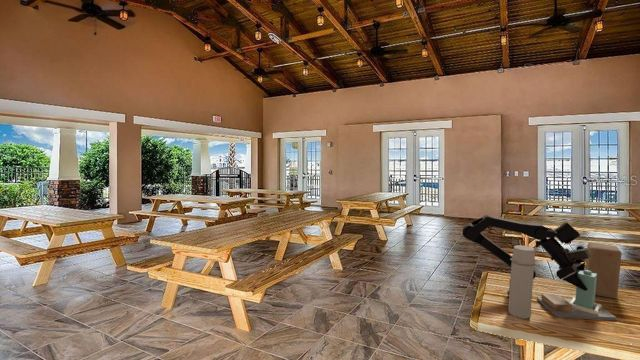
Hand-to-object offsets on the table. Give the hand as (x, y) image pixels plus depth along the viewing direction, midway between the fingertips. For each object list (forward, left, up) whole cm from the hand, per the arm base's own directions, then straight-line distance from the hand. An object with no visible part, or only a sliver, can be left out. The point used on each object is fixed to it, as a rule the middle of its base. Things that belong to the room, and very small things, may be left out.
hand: (588, 286), depth 127 cm
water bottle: (-27, -5, -10) cm, 29 cm away
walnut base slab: (-11, +1, -8) cm, 13 cm away
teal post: (-1, +1, -8) cm, 8 cm away
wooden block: (+16, +19, -10) cm, 27 cm away
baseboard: (-4, +1, -9) cm, 10 cm away
